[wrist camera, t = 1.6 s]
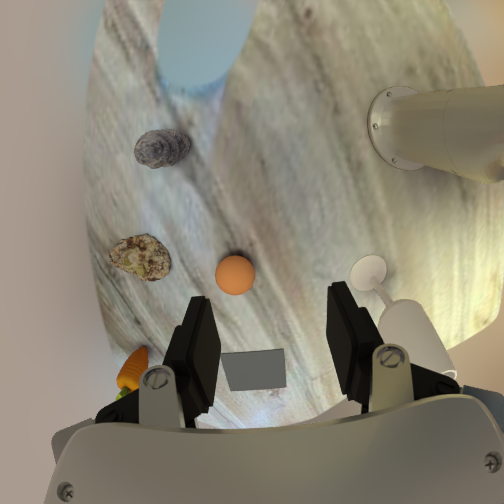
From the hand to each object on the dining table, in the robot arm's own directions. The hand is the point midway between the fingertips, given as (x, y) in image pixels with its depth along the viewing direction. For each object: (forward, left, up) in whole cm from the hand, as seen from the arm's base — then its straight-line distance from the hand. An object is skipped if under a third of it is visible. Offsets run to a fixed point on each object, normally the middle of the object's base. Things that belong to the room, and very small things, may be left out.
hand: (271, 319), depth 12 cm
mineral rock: (+20, +8, -28) cm, 35 cm away
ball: (+5, +11, -25) cm, 27 cm away
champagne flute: (-16, +15, -28) cm, 35 cm away
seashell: (+11, -8, -28) cm, 31 cm away
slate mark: (+5, +35, -27) cm, 45 cm away
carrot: (+26, +27, -28) cm, 47 cm away
